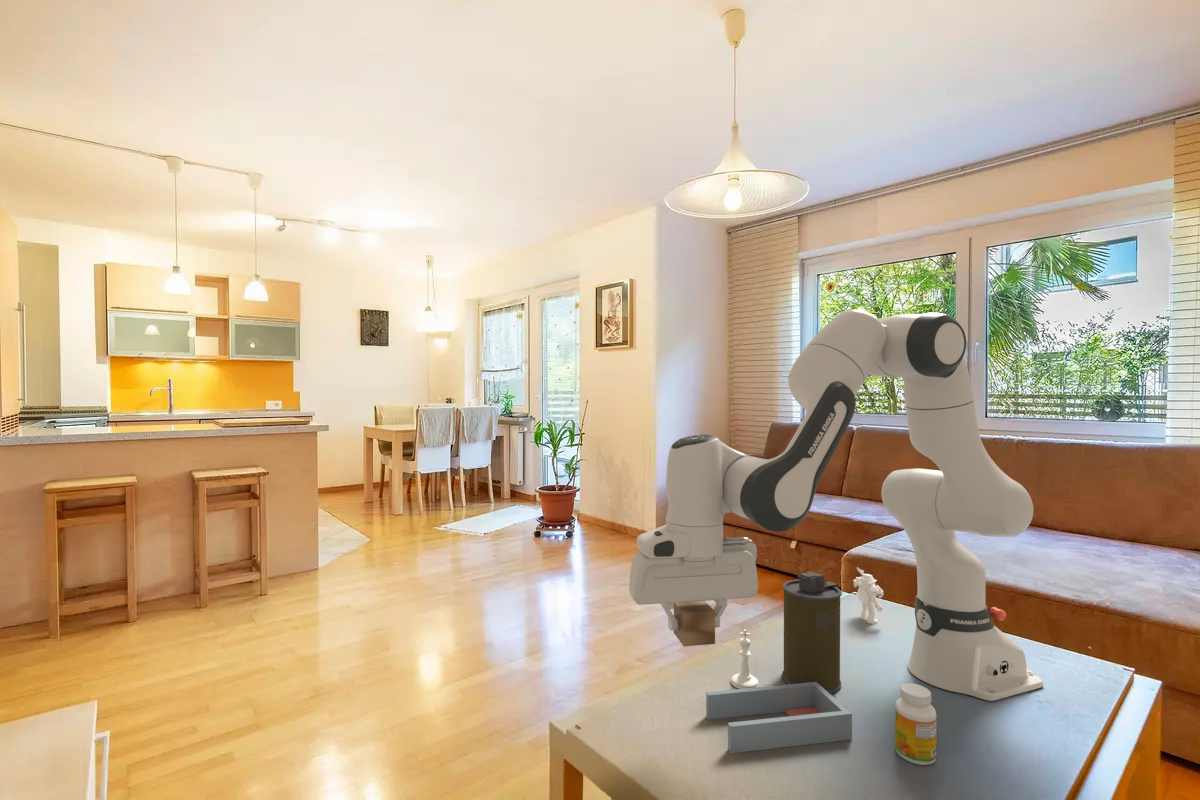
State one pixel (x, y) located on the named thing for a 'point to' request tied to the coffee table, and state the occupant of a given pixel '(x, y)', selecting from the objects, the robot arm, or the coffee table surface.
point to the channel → (807, 720)
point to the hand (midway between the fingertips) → (694, 627)
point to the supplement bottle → (915, 725)
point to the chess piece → (744, 667)
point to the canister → (812, 631)
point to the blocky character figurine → (868, 596)
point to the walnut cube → (695, 623)
